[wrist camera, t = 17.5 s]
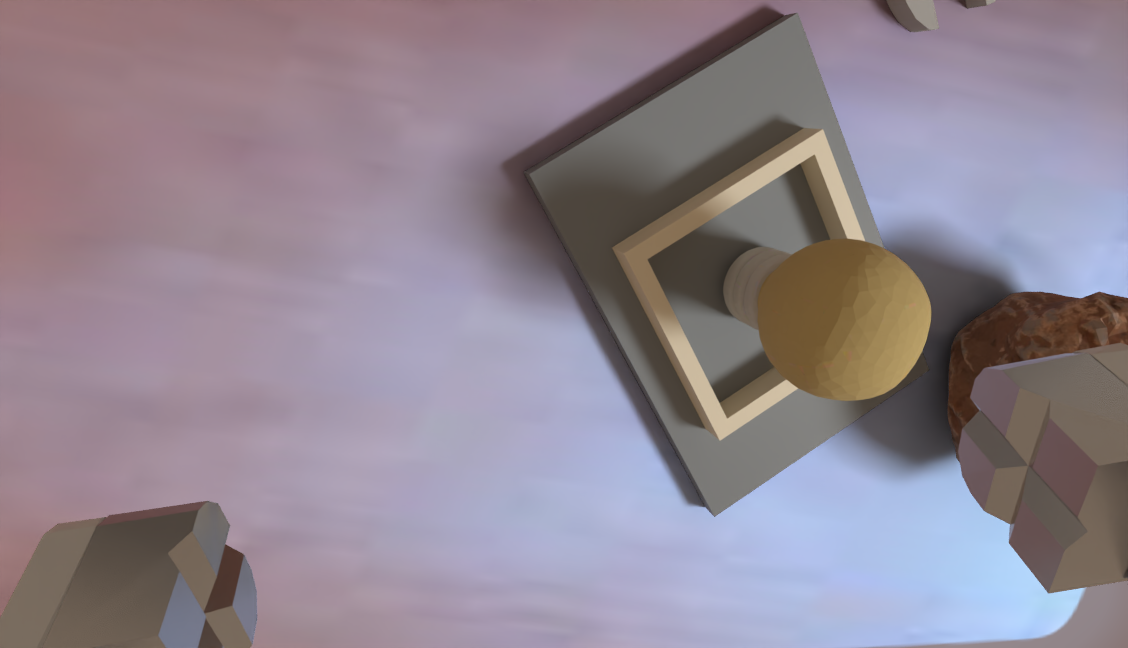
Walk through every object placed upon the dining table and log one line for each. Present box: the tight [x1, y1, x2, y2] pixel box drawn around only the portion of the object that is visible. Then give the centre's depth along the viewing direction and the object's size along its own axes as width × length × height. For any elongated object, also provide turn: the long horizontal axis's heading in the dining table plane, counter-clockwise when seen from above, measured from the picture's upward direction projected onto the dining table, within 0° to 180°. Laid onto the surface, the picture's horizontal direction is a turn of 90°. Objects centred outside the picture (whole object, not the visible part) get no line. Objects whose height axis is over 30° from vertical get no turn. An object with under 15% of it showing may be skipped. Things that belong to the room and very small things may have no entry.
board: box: [524, 13, 929, 517], centre depth 38 cm, size 20×14×2 cm
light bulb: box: [723, 238, 931, 401], centre depth 33 cm, size 6×6×10 cm
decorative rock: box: [948, 292, 1128, 462], centre depth 41 cm, size 13×11×10 cm
